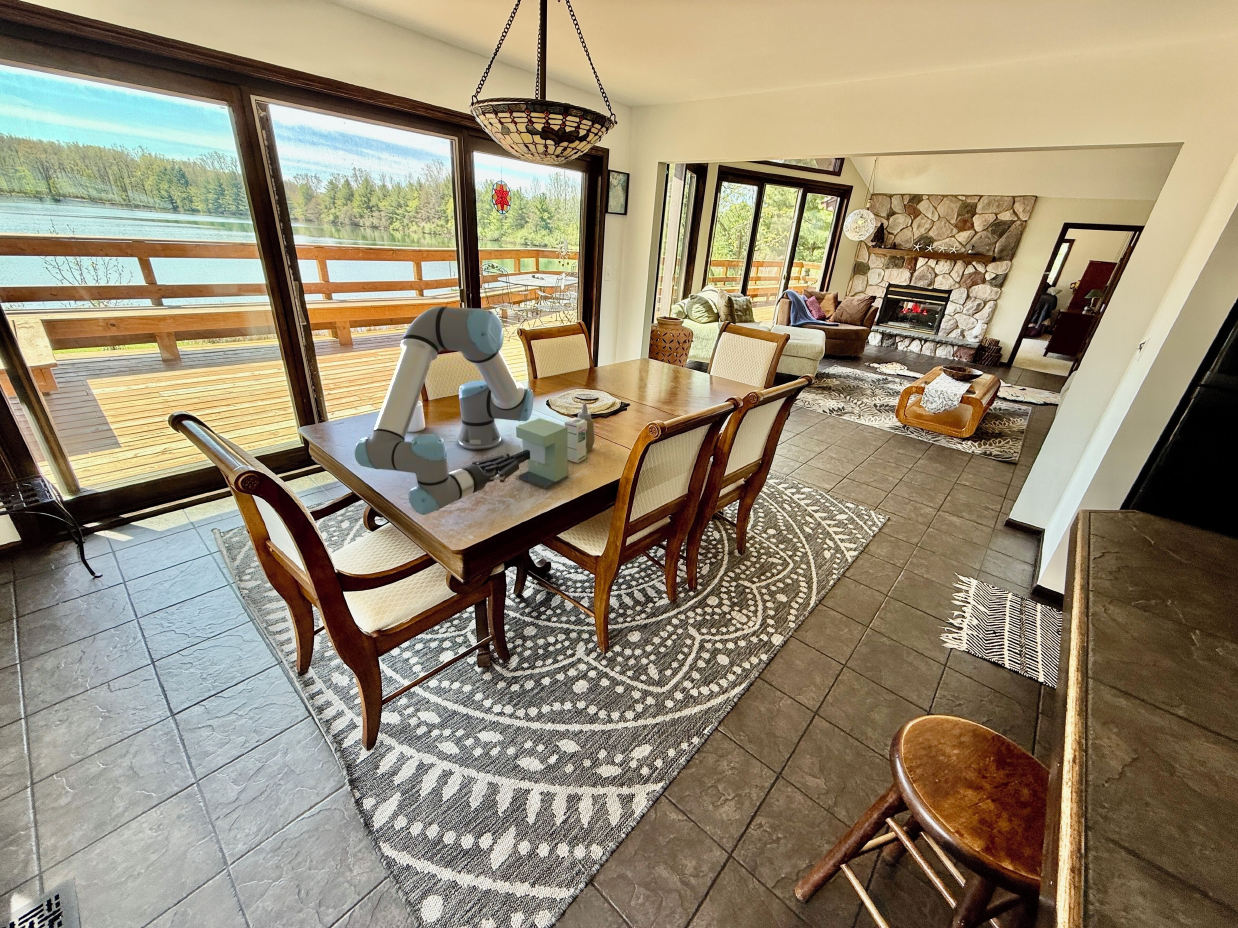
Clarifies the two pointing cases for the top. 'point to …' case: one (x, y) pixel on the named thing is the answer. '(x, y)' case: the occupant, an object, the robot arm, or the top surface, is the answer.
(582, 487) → the top surface
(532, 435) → the dispenser
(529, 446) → the push plate
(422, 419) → the mug
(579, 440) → the syrup box
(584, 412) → the squeeze bottle
